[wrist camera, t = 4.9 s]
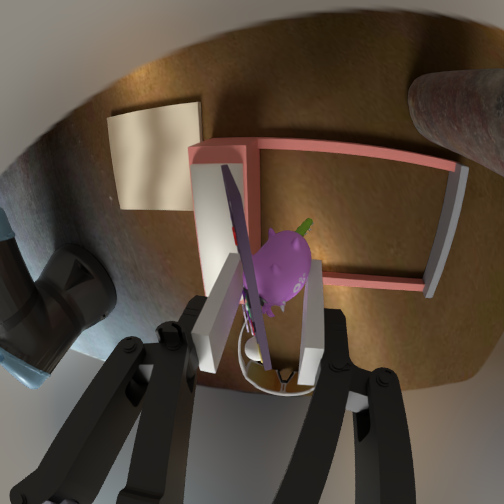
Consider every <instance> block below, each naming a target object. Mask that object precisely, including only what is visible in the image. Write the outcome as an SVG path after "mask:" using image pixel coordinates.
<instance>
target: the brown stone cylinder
mask: <svg viewBox="0 0 504 504" xmlns="http://www.w3.org/2000/svg"><path fill="white" fill-rule="evenodd" d="M408 105H409V110H410V115H411V118H412V120H413V123H414V125H415V127H416V129H417V130H418V131H419V133H421V134H422V135H423V136H424V137H425V138H426V139H428V140H430V141H431V142H433V143H435V144H438V145H440V146H442V147H445V148H447V149H449V150H451V151H453V152H456V153H458V154H460V155H462V156H464V157H466V158H469V159H471V160H473V161H475V162H477V163H479V164H481V165H483V166H485V167H486V168H488V169H490V170H492V171H494V172H496V173H498V174H499V175H501V176H503V177H504V69H474V70H457V71H444V72H436V73H429V74H424V75H422V76H420V77H418V78H416V79H415V80H414V81H413V83H412V85H411V86H410V88H409V91H408Z"/></svg>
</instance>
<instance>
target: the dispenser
mask: <svg viewBox="0 0 504 504" xmlns="http://www.w3.org/2000/svg"><path fill="white" fill-rule="evenodd" d="M260 149H289V150H308V151H322V152H333V153H344V154H353V155H362V156H370V157H377V158H384V159H391V160H397V161H403V162H409V163H415V164H420V165H425V166H430V167H435V168H440V169H444V170H449V177H448V182H447V188H446V193H445V198H444V203H443V208H442V212H441V216H440V221H439V225H438V229H437V232H436V236H435V240H434V243H433V247H432V250H431V253H430V257H429V260H428V263H427V266H426V269H425V272H424V275H423V278H422V279H416V278H402V277H388V276H375V275H362V274H350V273H337V272H325V271H322V279H323V284H326V285H338V286H351V287H365V288H379V289H394V290H411V291H423V294H424V296H425V298H432V297H433V294H434V292H435V289H436V287H437V284H438V282H439V279H440V276H441V273H442V271H443V268H444V265H445V262H446V259H447V256H448V253H449V250H450V247H451V244H452V240H453V237H454V233H455V230H456V226H457V222H458V218H459V214H460V210H461V206H462V202H463V197H464V192H465V187H466V182H467V176H468V170H469V167H467V166H465V165H463V164H461V163H459V162H457V161H453V160H449V159H444V158H440V157H436V156H431V155H426V154H421V153H416V152H411V151H406V150H400V149H394V148H388V147H381V146H374V145H367V144H359V143H350V142H341V141H330V140H318V139H302V138H278V137H226V138H210V139H208V140H205V141H202V142H200V143H197V144H194V145H192V146H189V147H188V158H189V169H190V180H191V190H192V199H193V208H194V217H195V225H196V234H197V241H198V249H199V256H200V263H201V270H202V277H203V284H204V290H205V297H208V296H209V294H210V292H211V290H212V288H213V286H214V284H215V282H216V280H217V278H218V275H219V273H220V271H221V269H222V267H223V265H224V263H225V261H226V259H227V257H228V255H229V253H238V251H237V246H236V245H235V241H234V236H233V231H232V227H233V226H232V221H231V218H230V211H229V206H228V201H227V196H226V191H225V186H224V180H223V175H222V170H221V165H226V164H227V165H228V167H229V169H230V171H231V174H232V176H233V178H234V180H235V183H236V185H237V187H238V190H239V192H240V194H241V198H242V204H243V209H244V215H245V220H246V226H247V232H248V237H249V243H250V249H251V254H253V255H254V254H256V253H257V252H258V251H259V250H260V248H261V202H260ZM305 283H306V282H305ZM243 287H244V286H243ZM239 303H241V304H245V303H246V299H245V303H244V299H243V294H242V296H241V299H240V302H239Z"/></svg>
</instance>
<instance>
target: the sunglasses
mask: <svg viewBox="0 0 504 504" xmlns="http://www.w3.org/2000/svg"><path fill="white" fill-rule="evenodd" d="M249 317H250V315H249ZM246 320H247V321H248V316H247V318H246ZM245 325H246V322H244V324H243V327H242V329H241V332H240V335H239V342H238V356H239V363H240V366H241V369H242V372H243V375H244V376H245V378H246V379H247V380H248V381H249V382H250V383H252V384H253V385H254V386H255V387H256V388H258V389H260V390H262V391H265V392H268V393H270V394H275V395H281V396H297V395H302V394H306V393H310V392H311V391H313V390H314V389H315V383H314V385H300V384H297V383H298V373H299V372H292V373H291V375H290V377H289V378H288V380H287V381H286V380H282V379H281V375H280V372H279V371H278V370H273V369H271V370H266V371H265V369H264V366H263V365H261V364H259V363H257V362H256V361H254V360H252V359H251V360H250V361H249V362H248V364H247V366H246V367H245V363H244V361H243V359H242V356H241V337H242V333H243V330H244V328H245Z"/></svg>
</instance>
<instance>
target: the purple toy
mask: <svg viewBox="0 0 504 504" xmlns="http://www.w3.org/2000/svg"><path fill="white" fill-rule="evenodd" d="M221 170H222V175H223V180H224V186H225V191H226V196H227V201H228V206H229V211H230V218H231V221H232V226H233V227H232V231H233V236H234V241H235V245H236V246H237V251H238V253H239V254H240V258H241V262H242V266H243V286H244V287H243V291H242V294H243V299H244V303H245V299H246V303H245V308H246V312H247V316H248V319H249V322H250V328H251V332H252V335H253V334H254V337H252V338H250V339H249V340H248V341H247V343H246V345H245V352H246V355H247V356H248V357H249V358H250V359H252V360H254V361H261V363H263V365H264V369H265V371H266V370H271V369H272V366H271V360H270V355H269V349H268V344H267V338H266V332H265V327H264V321H263V316H262V312H263V314H265V312H266V313H267V315H268V316H269V317H274V316H275V315H274V314H273V313H272V311H271V306H273V305H278V306H280V307H281V310H282V311H283V312H284V304H285V302H286V301H288V300H290V299H291V298H293V297H294V296H295V295H296V294H297V293H298V292H299V291H300V290H301V289H302V287H303V286H304V284H305V282H306V280H307V277H308V274H309V271H310V267H311V252H310V248H309V246H308V244H307V242H306V240H305V239H304V238H303V236H304V235H306V234H307V233H306V231H307V230H309V231H310V230H311V229H310V225H313V224H314V223H313V221H312V219H310V218H307V219H306V220H305V221H304V222H303V223H302V225H301V226H299V227H298V228H297V230H296V231H295V232H294V231H282V232H279V233H277V234H276V233H274V231H273V229H272V228H270V229H269V231H268V235H269V239H268V241H267V242H266V243H265V244H264V245H263V246H262V247H261V248H260V250H259V251H258V252H257V253H256V254H254V255H253V254H251V249H250V243H249V237H248V232H247V226H246V220H245V215H244V209H243V204H242V198H241V194H240V192H239V190H238V187H237V185H236V183H235V180H234V178H233V176H232V174H231V171H230V169H229V167H228V165H227V164H226V165H221ZM261 306H263V307H262V310H261ZM242 308H243V313H244V317H245V322H246V327H247V332H249V329H248V324H247V320H246V315H245V310H244V305H243V304H242ZM248 311H249V313H248ZM249 315H250V317H249ZM250 318H251V320H250Z"/></svg>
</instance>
